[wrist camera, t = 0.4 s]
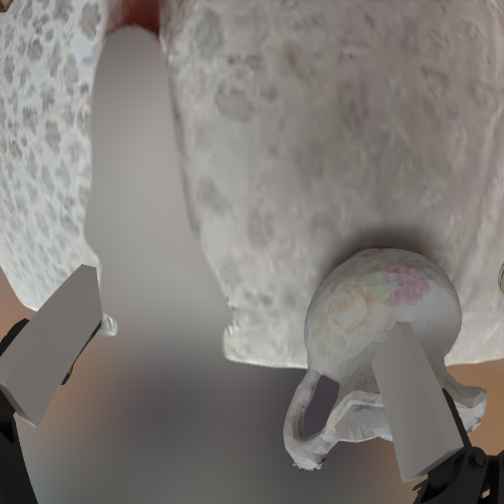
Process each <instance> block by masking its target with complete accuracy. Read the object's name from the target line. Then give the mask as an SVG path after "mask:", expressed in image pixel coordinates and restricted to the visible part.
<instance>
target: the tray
mask: <svg viewBox="0 0 504 504" xmlns="http://www.w3.org/2000/svg"><path fill="white" fill-rule="evenodd" d="M12 1H13V0H0V12H6V11H7V10H8V8H9V6H10V5H11V3H12Z"/></svg>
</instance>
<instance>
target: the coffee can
mask: <svg viewBox="0 0 504 504" xmlns="http://www.w3.org/2000/svg"><path fill="white" fill-rule="evenodd" d="M498 282H499V287H500V289H501V291H502V292H503V293H504V264H503V266H502V268H501V271H500V274H499V280H498Z"/></svg>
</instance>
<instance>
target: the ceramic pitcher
mask: <svg viewBox="0 0 504 504" xmlns="http://www.w3.org/2000/svg"><path fill="white" fill-rule="evenodd" d="M395 321H399V322H409V324H410V326H411V327H412V329H413V331H414V333H415V335H416V337H417V339H418V341H419V343H420V345H421V347H422V349H423V351H424V353H425V355H426V357H427V359H428V361H429V363H430V365H431V367H432V369H433V372H434V374H435V376H436V378H437V380H438V383H439V385H440V387H441V388H445V389H446V390H447V392H448V393H449V394H450V395H451V396H452V398H453V401H454V403H455V405H456V409H457V410H458V412H459V417H461V420H462V422H463V425H464V427H465V430H466V432H467V435H469V434H470V433H471V432H472V431H475V429H476V428H477V427H478V426H479V425H480V422H481V418H482V416H483V415H484V413H485V410H486V404H487V398H486V397H487V391H486V390H485V389H483V388H481V387H473V386H464V385H462V384H460V383H458V382H456V380H455V379H454V378H453V377H452V376H451V375H450V374H449V373H448V372H447V369H446V366H445V363H444V357H445V355H447V354H448V353H449V352H450V350H451V348H452V346H453V345H454V343H455V341H456V339H457V337H458V335H459V332H460V330H461V323H462V312H461V307H460V302H459V298H458V295H457V293H456V290H455V288H454V286H453V285H452V283H451V281H450V280H449V278H448V277H447V275H446V274H445V273H444V271H443V270H442V269H441V268H440V267H439V266H438V265H437V264H435V263H434V262H432V261H431V260H429V259H428V258H426V257H425V256H423V255H421V254H418V253H414V252H411V251H407V250H403V249H394V248H393V249H390V248H383V247H373V248H367V249H363V250H358V251H354V252H353V253H352V254H351V256H350V257H349V258H348V260H347V261H345V262H344V263H342V264H341V265H339V266H338V267H337V268H335V269H334V270H333V271H332V272H331V273H330V274H329V275H328V276H327V277H326V278H325V279H324V281H323V282H322V283H321V284H320V286H319V287H318V289H317V290H316V292H315V294H314V296H313V298H312V300H311V302H310V305H309V307H308V310H307V314H306V320H305V327H304V341H305V346H306V349H307V352H308V354H307V363H308V370H307V374H306V376H305V378H304V379H303V381H302V382H301V383H300V385H299V386H298V387H297V389H296V392H295V394H294V397H293V399H292V402H291V404H290V407H289V409H288V412H287V416H286V419H285V423H284V441H285V447H286V449H287V451H288V452H289V453H290V455H291V456H292V458H293V459H294V461H295V464H293V466H294V465H297V466H299V467H298V468H301V470H300V471H302V470H304V468H305V469H306V471H308V470H316V469H320V468H321V467H322V466H323V465H326V463H324V461H325V458H326V455H327V453H328V452H329V451H330V449H331V448H332V447H333V446H334V445H335V444H336V443H337V441H350V442H361V441H365V440H369V439H372V438H375V437H377V436H379V437H381V438H384V439H387V440H389V441H392V442H393V439H392V435H391V431H390V427H389V423H388V420H387V416H386V412H385V409H384V405H383V402H382V398H381V395H380V391H379V388H378V384H377V381H376V378H375V375H374V371H373V368H372V365H371V362H372V360H373V359H374V357H375V356H376V354H377V352H378V351H379V349H380V347H381V346H382V344H383V342H384V341H385V339H386V337H387V336H388V334H389V332H390V330H391V329H392V327H393V325H394V323H395ZM321 375H326V376H328V377H329V378H331V379H333V380H334V381H336V382H339V384H340V390H339V395H338V399H337V401H336V403H335V405H334V407H333V409H332V411H331V414H330V416H329V419H328V421H327V424H326V426H325V427H324V428H323V430H321V431H320V432H318V433H317V434H315V435H313V436H311V437H308V438H305V437H304V435H303V418H304V414H305V410H306V407H307V406H308V404H309V402H310V401H311V399H312V397H313V394H314V391H315V388H316V385H317V382H318V380H319V378H320V376H321Z"/></svg>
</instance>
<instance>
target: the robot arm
mask: <svg viewBox="0 0 504 504" xmlns="http://www.w3.org/2000/svg"><path fill="white" fill-rule="evenodd" d="M102 318H103V314H102V308H101V301H100V295H99V288H98V280H97V272H96V268H95V267H91V266H87V265H83V264H82V265H81V266H80V267H79V268H78V269H77V270H76V271H75V272H74V273H73V274H72V275H71V276H70V277H69V278H68V279H67V280H66V281H65V282H64V283H63V284H62V285H61V286H60V287H59V288H58V289H57V290H56V291H55V293H54V294H53V295H52V296H51V297H50V298H49V299H48V300H47V301H46V302H45V303H44V305H43V306H42V307H41V308H40V309H39V310H38V311H37V313H36V314H35V315H34V316H33V317H32V319H30V320H28V319H26V318H24V319H23V320H21V321H19V322H18V323H16V324H15V325H14V326H13V327H12V328H11V329H10V331H9V332H8V333H7V335H5V337H4V338H3V339H2V340H1V342H0V504H38V502H37V499H36V497H35V494H34V491H33V488H32V486H31V482H30V479H29V476H28V473H27V469H26V466H25V462H24V459H23V454H22V450H21V446H20V442H19V437H18V433H17V428H16V422H15V419H14V417H13V415H14V413H15V411H16V412H17V413H18V415H19V416H20V417H21V418H22V419H23V420H24V421H26V422H27V423H29V424H31V425H33V426H34V427H36V428H37V427H38V425H39V424H40V422H41V420H42V418H43V416H44V414H45V412H46V410H47V408H48V406H49V405H50V403H51V401H52V399H53V397H54V396H55V394H56V392H57V390H58V388H59V386H60V385H61V383H62V381H63V380H64V378H65V376H66V375H67V373H68V371H69V370H70V368H71V366H72V365H73V363H74V361H75V360H76V358H77V356H78V355H79V353H80V352H81V350H82V348H83V347H84V345H85V344H86V342H87V341H88V339H89V337H90V336H91V334H92V333H93V331H94V330H95V328H96V327H97V325H98V324H99V322H100V321H101V319H102ZM371 365H372V368H373V371H374V375H375V378H376V381H377V384H378V388H379V391H380V395H381V398H382V402H383V405H384V409H385V412H386V416H387V420H388V423H389V427H390V431H391V435H392V439H393V443H394V447H395V451H396V456H397V460H398V465H399V469H400V474H401V479H402V483H405V482H409V481H413V480H417V479H419V478H421V477H422V476H424V475H425V474H428V478H427V479H426V480H424V481H423V482H421V483H419V484H418V485H416V486H415V487H414V488H413V489H412V490H413V491H414V490H416V489H418V488H420V487H421V489H420V490H418V491H417V493H418V495H417V497H416V499H415V501H414V503H413V504H504V450H503V451H502V452H500V453H499V454H498V455H497V456H492V455H486V454H485V453H484V451H483V450H482V449H481V448H479V447H472V445H471V443H470V441H469V438H468V435H467V432H466V430H465V427H464V425H463V422H462V420H461V417H459V412H458V410H457V409H456V405H455V403H454V401H453V398H452V396H451V395H450V394H449V393H448V392H447V390H446V389H445V388H441V387H440V385H439V383H438V380H437V378H436V376H435V374H434V372H433V369H432V367H431V365H430V363H429V361H428V359H427V357H426V355H425V353H424V351H423V349H422V347H421V345H420V343H419V341H418V339H417V337H416V335H415V333H414V331H413V329H412V327H411V326H410V324H409V322H399V321H395V323H394V325H393V327H392V329H391V330H390V332H389V334H388V336H387V337H386V339H385V341H384V342H383V344H382V346H381V347H380V349H379V351H378V352H377V354H376V356H375V357H374V359H373V360H372V362H371ZM488 489H490V494H489V495H488V496H486V497H485V498H483V496H482V494H483V492H485V491H487V490H488Z"/></svg>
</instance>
